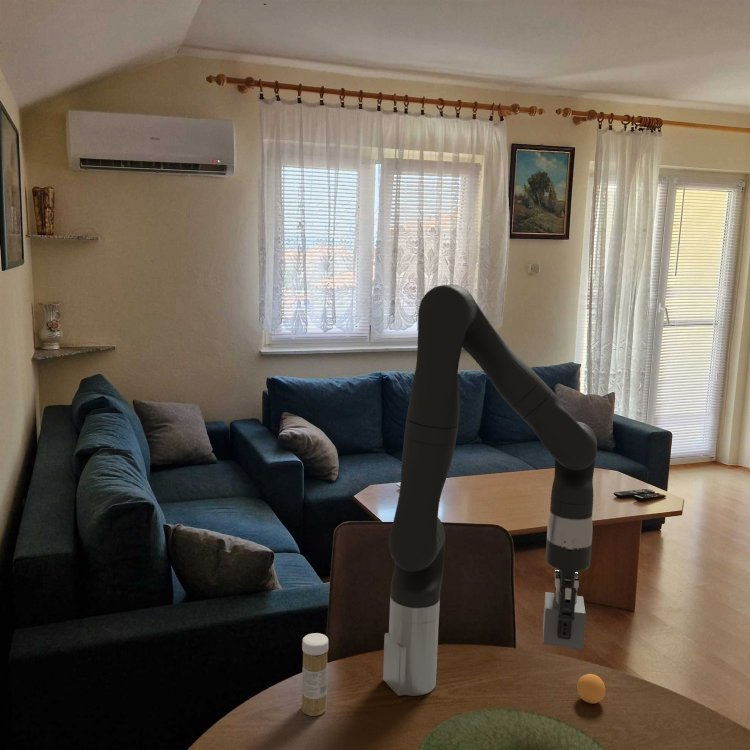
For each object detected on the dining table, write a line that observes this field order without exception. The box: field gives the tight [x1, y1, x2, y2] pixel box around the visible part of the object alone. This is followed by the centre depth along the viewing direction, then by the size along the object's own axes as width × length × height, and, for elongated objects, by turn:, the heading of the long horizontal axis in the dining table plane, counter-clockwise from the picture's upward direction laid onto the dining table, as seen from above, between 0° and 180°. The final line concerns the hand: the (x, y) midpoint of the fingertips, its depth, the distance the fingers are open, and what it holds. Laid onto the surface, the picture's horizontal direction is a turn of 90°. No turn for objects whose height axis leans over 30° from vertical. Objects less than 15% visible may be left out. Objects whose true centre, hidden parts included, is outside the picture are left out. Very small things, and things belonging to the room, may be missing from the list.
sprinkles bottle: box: [301, 632, 329, 717], centre depth 127 cm, size 5×5×13 cm
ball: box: [576, 673, 606, 704], centre depth 133 cm, size 5×5×5 cm
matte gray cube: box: [542, 591, 586, 651], centre depth 127 cm, size 7×7×7 cm
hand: (563, 627), depth 127 cm, fingers closed on matte gray cube, 6 cm apart
